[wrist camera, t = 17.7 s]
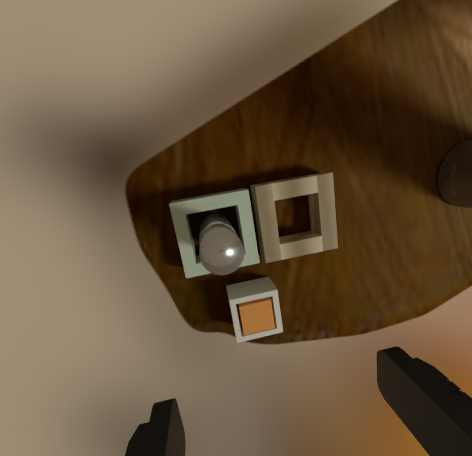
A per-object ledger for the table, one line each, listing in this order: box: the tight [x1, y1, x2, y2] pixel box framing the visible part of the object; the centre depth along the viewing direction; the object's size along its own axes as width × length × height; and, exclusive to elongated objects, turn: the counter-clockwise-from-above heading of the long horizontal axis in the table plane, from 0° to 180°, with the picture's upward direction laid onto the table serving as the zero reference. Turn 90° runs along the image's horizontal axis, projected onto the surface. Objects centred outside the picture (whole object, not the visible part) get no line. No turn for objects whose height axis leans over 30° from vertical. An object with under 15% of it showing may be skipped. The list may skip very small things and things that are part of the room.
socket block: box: [250, 173, 338, 263], centre depth 31 cm, size 9×9×3 cm
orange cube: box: [237, 297, 275, 335], centre depth 32 cm, size 4×4×4 cm
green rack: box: [169, 188, 260, 278], centre depth 30 cm, size 9×9×3 cm
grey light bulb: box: [200, 214, 245, 275], centre depth 26 cm, size 4×4×10 cm
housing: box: [226, 276, 283, 343], centre depth 32 cm, size 6×6×4 cm
